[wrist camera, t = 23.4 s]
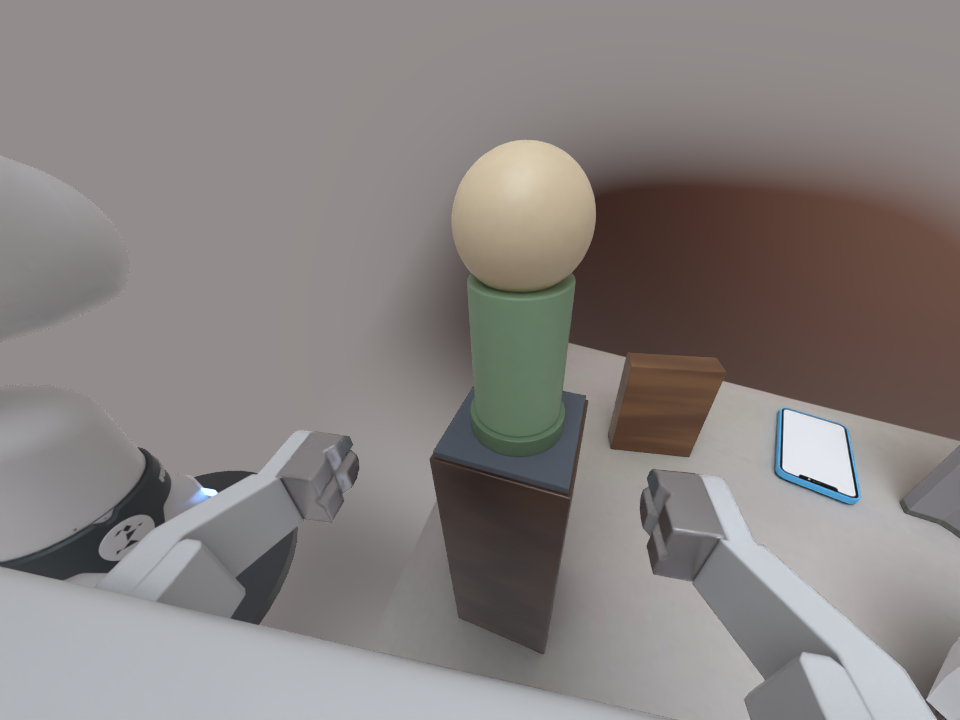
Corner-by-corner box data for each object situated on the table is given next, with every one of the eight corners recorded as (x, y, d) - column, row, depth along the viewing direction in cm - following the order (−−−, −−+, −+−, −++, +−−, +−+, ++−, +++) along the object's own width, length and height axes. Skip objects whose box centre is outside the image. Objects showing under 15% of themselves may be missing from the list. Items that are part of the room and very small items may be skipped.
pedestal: (458, 617, 32) (428, 459, 20) (487, 537, 38) (478, 378, 26) (544, 654, 29) (571, 499, 17) (559, 562, 36) (588, 399, 23)
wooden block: (689, 457, 46) (726, 372, 38) (610, 448, 48) (631, 366, 40) (682, 440, 48) (716, 357, 41) (608, 433, 50) (627, 352, 42)
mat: (433, 457, 20) (432, 451, 19) (479, 380, 26) (479, 375, 25) (568, 495, 17) (569, 488, 17) (585, 400, 23) (586, 395, 23)
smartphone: (847, 425, 48) (861, 503, 38) (842, 432, 49) (856, 509, 39) (780, 405, 52) (778, 470, 42) (777, 411, 53) (773, 477, 43)
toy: (562, 457, 22) (598, 494, 9) (471, 446, 23) (393, 467, 10) (572, 267, 25) (612, 93, 12) (489, 265, 26) (444, 104, 13)
